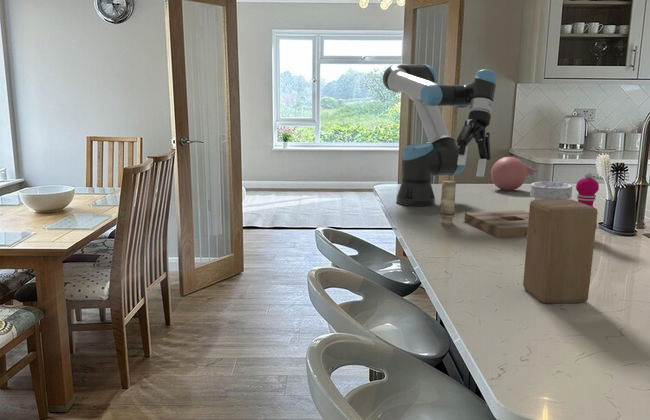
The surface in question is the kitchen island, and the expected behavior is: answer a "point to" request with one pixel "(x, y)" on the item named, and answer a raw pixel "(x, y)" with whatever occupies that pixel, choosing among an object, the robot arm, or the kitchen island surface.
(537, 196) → the paper bowls
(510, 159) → the balloon
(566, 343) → the kitchen island surface
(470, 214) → the walnut board
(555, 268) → the wooden block
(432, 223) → the kitchen island surface
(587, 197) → the pepper mill
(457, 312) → the kitchen island surface
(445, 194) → the beech peg
